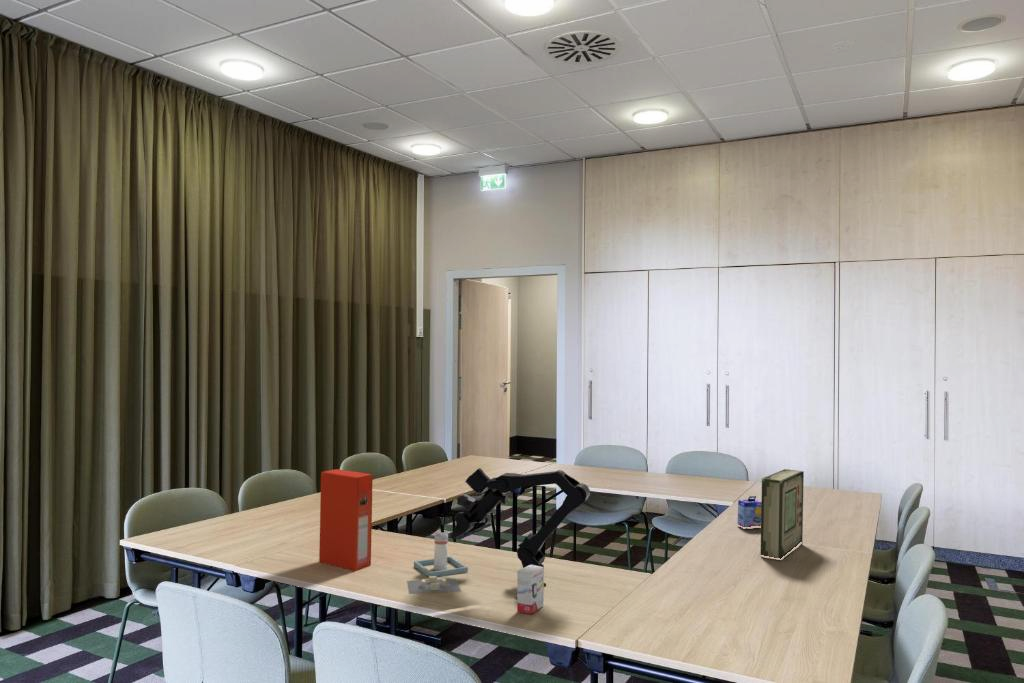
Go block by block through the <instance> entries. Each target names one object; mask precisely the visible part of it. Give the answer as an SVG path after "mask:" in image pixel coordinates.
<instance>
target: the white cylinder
mask: <svg viewBox="0 0 1024 683" xmlns="http://www.w3.org/2000/svg"><path fill="white" fill-rule="evenodd" d="M448 543H449V533H447V532H443V531H442V532H436V533H434V552H433V553H434V555H433V557H434V558H433V559H434V565H433V570H434V571H441V570H448V563H447V557H448Z"/></svg>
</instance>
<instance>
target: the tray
mask: <svg viewBox="0 0 1024 683" xmlns="http://www.w3.org/2000/svg"><path fill="white" fill-rule="evenodd" d="M449 563H451V564H452V565H454V566H455V567H456V568H449V569H448V568H447V570H441V571H436V570H434V571H430V570H428V569H427V568H426V567H427V566H434V558H427V559H422V560H421V559H420V560H414V561H413V568H416V569H417V570H419V571H420V572H421V573H423V574H424V575H425V576H427V577H428V578H429V577H431V576H436V577H444V576H450V575H456V574H462V573H468V572H469V567H468V566H466V565H465V564H463V563H462V562H460V561H459V560H457V559H456V558H454V557H453V556H452V555H451V556H447V564H449Z"/></svg>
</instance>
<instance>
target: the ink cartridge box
mask: <svg viewBox="0 0 1024 683" xmlns="http://www.w3.org/2000/svg"><path fill="white" fill-rule="evenodd" d="M737 502H738V503H737V524H738V525H740V526H742V527H751V526H761V502H762V500H758V499H757V496H756V495H753V496H752V495H750V496H749V497H748V499H738V500H737Z"/></svg>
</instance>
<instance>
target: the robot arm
mask: <svg viewBox="0 0 1024 683" xmlns="http://www.w3.org/2000/svg"><path fill="white" fill-rule="evenodd" d="M464 482H465V483H466V485H467V486H468V487H470V489H471V490H473V491H474V493H476V494H480V495H481V497H480V498H479V499H476V498H474V497H472V496H471V495H468V494H466V493H463V494H462V493H461V494H460V495H459V496H458V497H457V498H456V504H457V505H458V506H461V507H463V508H464V509H466V510H465V511H466V512H465V511H461V512H456V515H454V516H453V518H454V521H455V527H454V528H453V531H452V533H451V536H450V539H451V540H454V539H457V538H458V537H460V536H467V535H469V534H470V533H473V532H476V531H478V530H480V529H481V528H483V527H486V526H487V525H489V524H490V523H491V522H492V516H491V515H490V514H492V513H493V512H494V509H495V508H496V507H497V505H499V503H500V502H501V503H502V504H504V505H506V504H507V503H508V502H509V498H508V494H506V493H508V492H513V491H515V490H518V489H521V488H527V487H535V486H536V487H537V486H544V485H546V486H547V485H556V486H557V487H558V488H559V489H561V491H562V492H563V493H564V494H565V495H566V496H565V499H564V500H563V501H562V504H561V505H560V507H559V508H557V510H556V511H555V512H554V513H553V514H552V515H551V517H550V518H549V519H548V520H547V521H546V522H545V523H544V524H543V525H542V527H541V528H540V529H539V530H538V531H537V532H536V534H535V533H534V534H533V533H532V532H530V533H529V534H528V535H526V536H525V538H524V539H523V540H522V541H521V542H520V543H519V544H517V546H518V548H517V550H516V554H517V555H516V556H517V559H518V560H519V561H520V562H521V566H522V568H524V567H526V566H528V565H536V566H541V567H544V568H545V566H544V564H543V563H544V562H545V560H546V556H545V554H544V553H543V552H542V551H541V549H542V548H543V546H544V543H545V542H546V540H547V539H548V538H549V537H550V536H551V535H552V534H553V533H554V532H555V530H556V529H557V528H558V527H559V525H561V523H562V522H564V520H565V519H566V518H567V517H568V516H569V515H570V514H571V513H572V512H573V511H574V510H576V509H577V508H578V507H580V506H581V505H582V504H584V503H585V502H586V501H587V500H588V499H589V497H590V495H591V490H590V488H589V486H588V485H586V484H585V483H583V482H580V481H578V480H577V479H575V478H574V477H572V476H571V475H568V474H567V473H566V472H565V471H564V470H562V469H558V470H556V471H554V470H553V471H546V472H545V471H544V472H536V473H528V474H520V473H515V472H504V473H503V474H500V475H498V476H497V477H493V478H490V477H489V476H488V475H487V474H486V473H485V472H484V471H483V469H482V468H481V467H478V468H477V469H476V470H475V471H473V472H472V473H471V475H469V476H468V477H467V478H466V479H465V481H464ZM482 494H483V495H482ZM545 586H547V583H546V582H544V587H545Z"/></svg>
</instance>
